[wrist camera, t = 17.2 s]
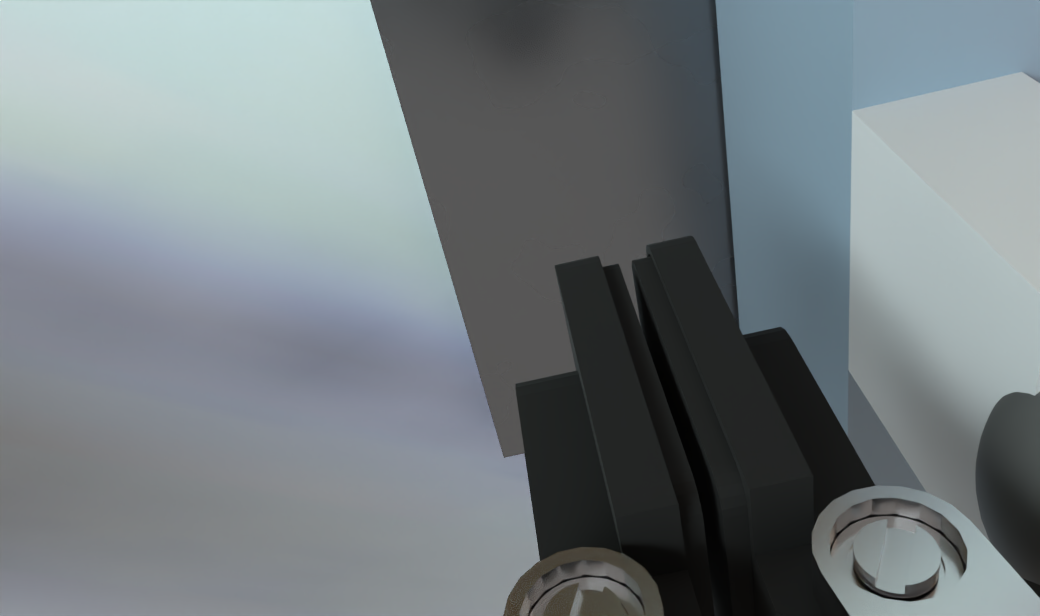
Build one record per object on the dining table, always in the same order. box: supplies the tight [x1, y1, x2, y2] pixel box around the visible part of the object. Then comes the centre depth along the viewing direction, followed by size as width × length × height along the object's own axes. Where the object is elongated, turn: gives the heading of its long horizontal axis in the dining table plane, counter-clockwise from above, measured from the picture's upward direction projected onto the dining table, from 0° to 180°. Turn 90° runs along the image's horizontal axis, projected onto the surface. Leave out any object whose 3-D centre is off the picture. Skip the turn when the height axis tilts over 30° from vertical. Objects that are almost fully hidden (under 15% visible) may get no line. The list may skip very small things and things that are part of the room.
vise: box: [370, 0, 740, 457], centre depth 15 cm, size 20×16×7 cm
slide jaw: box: [715, 0, 1040, 585], centre depth 12 cm, size 3×14×12 cm, turn 11°
